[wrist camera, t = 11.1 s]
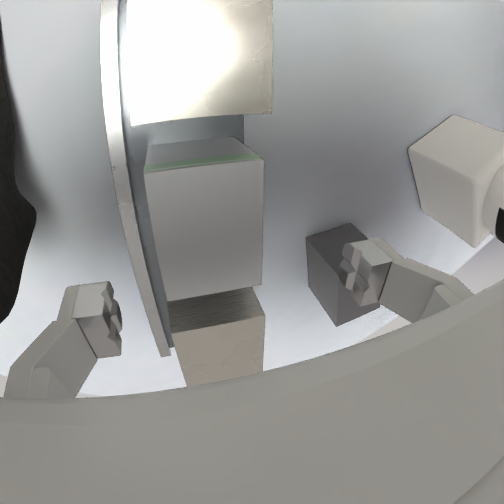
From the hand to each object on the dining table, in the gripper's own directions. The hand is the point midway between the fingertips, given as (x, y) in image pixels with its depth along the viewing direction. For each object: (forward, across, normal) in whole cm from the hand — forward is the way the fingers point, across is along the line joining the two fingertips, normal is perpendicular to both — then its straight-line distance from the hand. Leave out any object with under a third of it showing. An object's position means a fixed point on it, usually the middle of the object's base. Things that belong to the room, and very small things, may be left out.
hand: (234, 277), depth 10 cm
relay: (+10, -10, +7) cm, 16 cm away
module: (+8, 0, 0) cm, 8 cm away
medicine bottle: (+10, -21, -1) cm, 23 cm away
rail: (+9, +1, 0) cm, 9 cm away
